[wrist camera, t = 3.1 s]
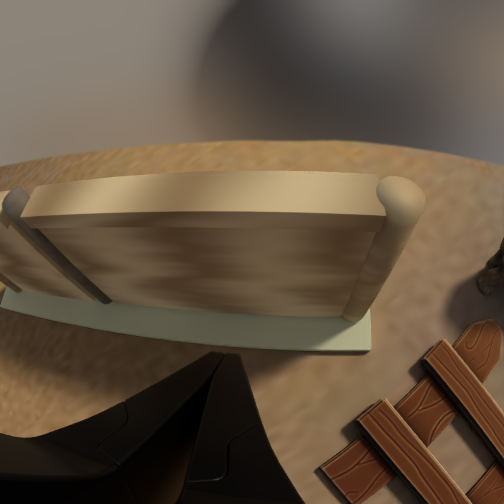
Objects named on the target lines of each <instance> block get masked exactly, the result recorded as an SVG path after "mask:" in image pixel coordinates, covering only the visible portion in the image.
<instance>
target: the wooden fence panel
mask: <svg viewBox="0 0 504 504" xmlns="http://www.w3.org/2000/svg"><path fill="white" fill-rule="evenodd" d="M29 199H30V197H29V196H28V194H27V193H26V192H25V191H24V189H23V188H22V187H21V186H17V187H14V188H13V189H12V190H9V191H3V192H0V281H1V282H2V283H4V284H5V285H6V286H8V287H9V288H10V289H12V290H13V291H15V292H16V293H19V292H21V291H22V290H24V291H28V292H34V293H40V294H47V295H53V296H59V297H66V298H73V299H80V300H87V301H95V298H97V299H98V300H99V301H100V302H101V303H103V304H109V303H111V302H112V301H113V300H111V299H110V298H109V297H108V296H107V295H106V294H105V293H104V292H102V291H101V290H100V289H99V288H98V287H97V286H96V285H95V284H94V283H93V282H91V281H90V280H89V279H88V278H87V277H86V276H85V275H84V274H83V273H82V272H81V271H80V270H79V269H78V268H77V267H76V266H74V265H73V264H72V263H71V262H70V261H69V260H68V259H67V258H66V257H65V256H64V255H63V254H62V253H61V252H60V251H59V250H58V249H57V248H56V247H55V246H54V245H53V244H52V243H51V242H50V241H49V239H48V238H47V237H46V236H45V235H44V234H43V233H42V232H41V231H40V230H39V229H38V228H30V227H29V226H28V225H27V224H26V223H25V222H24V221H23V220H22V219H21V218H20V216H21V214H22V212H23V210H24V208H25V206H26V205H27V203H28V201H29Z"/></svg>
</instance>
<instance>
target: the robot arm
mask: <svg viewBox="0 0 504 504" xmlns="http://www.w3.org/2000/svg"><path fill="white" fill-rule="evenodd" d="M0 504H305V503H304V501H303V500H302V498H301V497H300V495H299V494H298V492H297V491H296V489H295V487H294V486H293V484H292V483H291V481H290V479H289V478H288V476H287V474H286V473H285V471H284V469H283V468H282V466H281V464H280V463H279V461H278V459H277V457H276V455H275V453H274V451H273V449H272V447H271V445H270V443H269V440H268V438H267V435H266V432H265V429H264V426H263V424H262V421H261V418H260V415H259V412H258V409H257V406H256V402H255V399H254V396H253V393H252V390H251V387H250V384H249V380H248V377H247V374H246V371H245V368H244V364H243V361H242V358H241V355H240V354H233V353H226V354H224V353H221V352H209V353H208V354H206V355H204V356H203V357H201V358H199V359H198V360H196V361H194V362H192V363H191V364H189V365H187V366H186V367H184V368H182V369H180V370H179V371H177V372H175V373H173V374H172V375H170V376H168V377H166V378H165V379H163V380H161V381H159V382H158V383H156V384H154V385H152V386H150V387H149V388H147V389H145V390H143V391H141V392H139V393H138V394H136V395H134V396H132V397H130V398H128V399H126V400H125V402H124V401H123V402H121V403H119V404H117V405H115V406H113V407H111V408H109V409H107V410H105V411H103V412H101V413H99V414H97V415H94V416H92V417H89V418H87V419H85V420H82V421H80V422H77V423H74V424H72V425H69V426H66V427H63V428H61V429H58V430H55V431H52V432H50V433H47V434H44V435H40V436H37V437H31V438H21V437H14V436H10V435H6V434H2V433H0Z"/></svg>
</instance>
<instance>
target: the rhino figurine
mask: <svg viewBox="0 0 504 504" xmlns="http://www.w3.org/2000/svg"><path fill="white" fill-rule="evenodd" d="M489 266H490V267H491V268H492V269H489V270H488V271H487V272H486V276H484V277H480V278H479V279H478V281H477V283H478V287H479V288H480V290H481V291H482V292H483V293H484V294H485V295H488V294H489V293H493V291H494V283H497V282H501V281H504V238H503V240H502V243H501V245H500V249H499V250H498V251H497V253H496V254H495V255H494V256H492V257H491V258H490V259H489Z"/></svg>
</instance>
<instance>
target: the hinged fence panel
mask: <svg viewBox="0 0 504 504" xmlns="http://www.w3.org/2000/svg"><path fill="white" fill-rule="evenodd" d="M425 204H426V200H425V196H424V194H423V192H422V190H421V189H420V188H419V187H418V186H417V185H416V184H415V183H413V182H412V181H410V180H408V179H406V178H403V177H399V176H389V177H386V178H384V179H382V180H381V181H380V182H379V178H378V175H374V174H358V173H339V172H313V171H210V172H184V173H164V174H148V175H135V176H122V177H111V178H100V179H90V180H81V181H73V182H64V183H56V184H49V185H42V186H36V188H35V190H34V192H33V193H32V195H31V197H30V199H29V201H28V203H27V205H26V206H25V208H24V210H23V212H22V214H21V216H20V218H21V219H22V220H23V221H24V222H25V223H26V224H27V225H28V226H29V227H30V228H38V229H39V230H40V231H41V232H42V233H43V234H44V235H45V236H46V237H47V238H48V239H49V241H50V242H51V243H52V244H53V245H54V246H55V247H56V248H57V249H58V250H59V251H60V252H61V253H62V254H63V255H64V256H65V257H66V258H67V259H68V260H69V261H70V262H71V263H72V264H73V265H74V266H76V267H77V268H78V269H79V270H80V271H81V272H82V273H83V274H84V275H85V276H86V277H87V278H88V279H89V280H90V281H91V282H93V283H94V284H95V285H96V286H97V287H98V288H99V289H100V290H101V291H102V292H104V293H105V294H106V295H107V296H108V297H109V298H110V299H111V300H113V301H114V302H115V303H122V304H131V305H141V306H150V307H160V308H171V309H182V310H194V311H207V312H221V313H236V314H254V315H274V316H300V317H341V318H342V319H344V320H345V321H348V322H357V321H360V320H361V319H362V318H363V317H364V316H365V314H366V313H367V311H368V309H369V308H370V306H371V305H372V303H373V301H374V300H375V298H376V296H377V295H378V293H379V291H380V290H381V288H382V286H383V285H384V283H385V281H386V279H387V278H388V276H389V274H390V273H391V271H392V269H393V267H394V265H395V264H396V262H397V260H398V258H399V256H400V255H401V253H402V251H403V249H404V247H405V245H406V243H407V242H408V240H409V238H410V236H411V234H412V232H413V230H414V228H415V226H416V224H417V222H418V220H419V218H420V216H421V214H422V212H423V210H424V208H425Z"/></svg>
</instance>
